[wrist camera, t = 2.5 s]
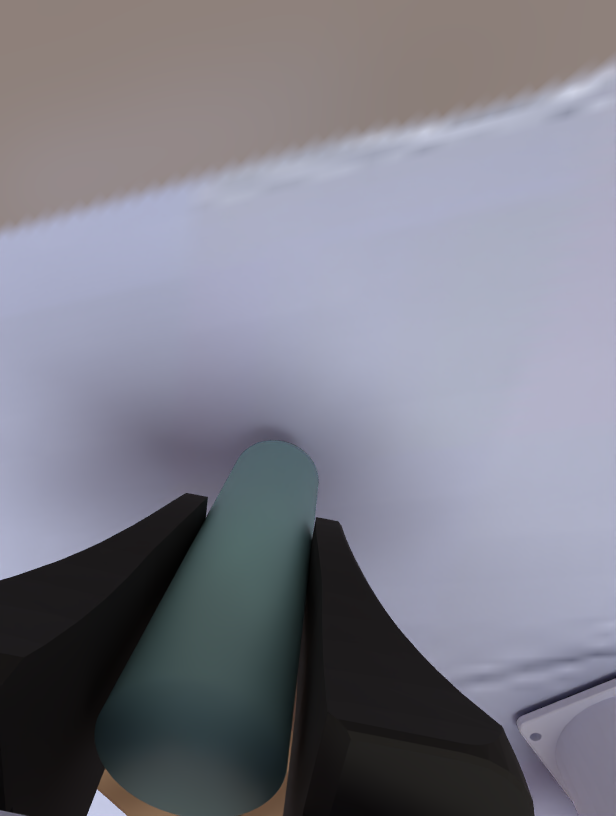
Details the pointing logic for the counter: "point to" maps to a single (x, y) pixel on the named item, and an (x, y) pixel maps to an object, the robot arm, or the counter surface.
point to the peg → (221, 651)
